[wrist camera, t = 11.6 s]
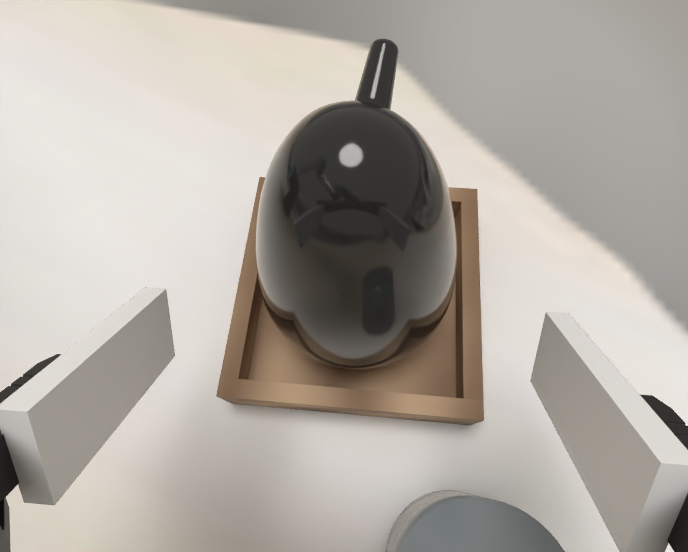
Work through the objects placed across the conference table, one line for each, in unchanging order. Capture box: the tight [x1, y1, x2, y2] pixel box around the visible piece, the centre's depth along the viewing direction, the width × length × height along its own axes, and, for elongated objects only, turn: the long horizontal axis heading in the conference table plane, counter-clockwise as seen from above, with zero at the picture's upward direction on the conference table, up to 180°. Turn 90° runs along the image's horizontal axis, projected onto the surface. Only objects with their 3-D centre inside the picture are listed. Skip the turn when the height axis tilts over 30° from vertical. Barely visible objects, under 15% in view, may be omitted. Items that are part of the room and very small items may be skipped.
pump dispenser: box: [256, 39, 457, 369], centre depth 21 cm, size 10×10×15 cm
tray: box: [217, 177, 484, 425], centre depth 27 cm, size 14×14×3 cm
